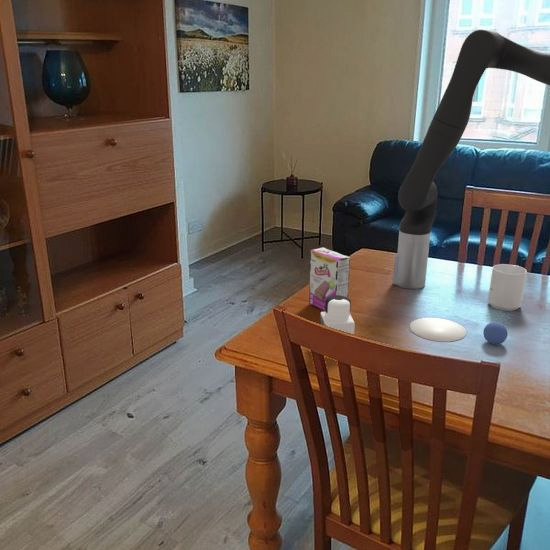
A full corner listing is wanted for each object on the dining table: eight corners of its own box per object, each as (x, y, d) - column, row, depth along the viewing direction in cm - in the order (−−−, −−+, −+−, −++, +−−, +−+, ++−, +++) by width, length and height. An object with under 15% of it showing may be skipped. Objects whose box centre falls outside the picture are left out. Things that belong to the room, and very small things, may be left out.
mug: (523, 313, 155) (530, 275, 151) (490, 310, 156) (495, 273, 153) (514, 297, 166) (520, 261, 162) (483, 295, 168) (488, 259, 164)
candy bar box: (307, 304, 159) (309, 249, 154) (320, 300, 162) (323, 246, 157) (334, 317, 151) (337, 259, 146) (348, 313, 154) (351, 256, 148)
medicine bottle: (319, 337, 139) (320, 292, 135) (347, 336, 140) (349, 292, 136) (323, 350, 133) (325, 304, 129) (353, 350, 133) (356, 303, 129)
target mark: (401, 332, 142) (401, 331, 142) (420, 314, 153) (420, 313, 153) (456, 346, 135) (456, 345, 135) (472, 326, 146) (472, 325, 146)
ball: (479, 344, 136) (482, 324, 134) (485, 336, 141) (488, 316, 139) (502, 350, 133) (506, 329, 132) (508, 342, 138) (511, 321, 136)
